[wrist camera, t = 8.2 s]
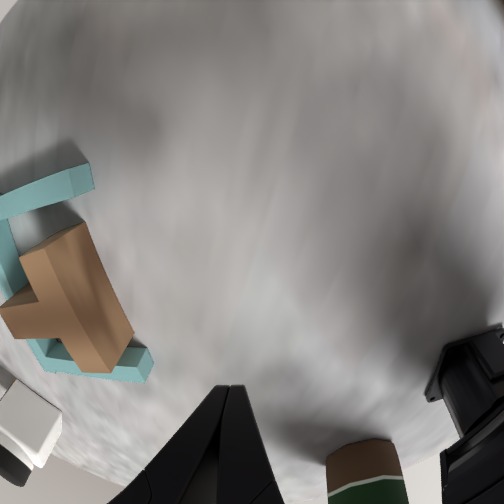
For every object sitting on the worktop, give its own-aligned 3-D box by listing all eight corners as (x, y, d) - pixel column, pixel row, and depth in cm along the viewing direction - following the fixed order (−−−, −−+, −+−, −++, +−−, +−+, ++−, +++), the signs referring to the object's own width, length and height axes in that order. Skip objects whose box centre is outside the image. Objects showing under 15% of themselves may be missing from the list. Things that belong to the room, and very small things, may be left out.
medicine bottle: (16, 377, 24) (-32, 445, 13) (63, 411, 25) (21, 488, 14) (20, 401, 26) (-18, 461, 16) (62, 431, 28) (29, 496, 17)
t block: (15, 249, 17) (-20, 272, 13) (85, 221, 15) (44, 248, 12) (59, 337, 20) (34, 368, 16) (134, 332, 18) (111, 373, 15)
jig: (155, 365, 19) (146, 385, 18) (55, 356, 21) (44, 371, 19) (88, 158, 14) (67, 164, 12) (-9, 197, 15) (-27, 205, 13)
